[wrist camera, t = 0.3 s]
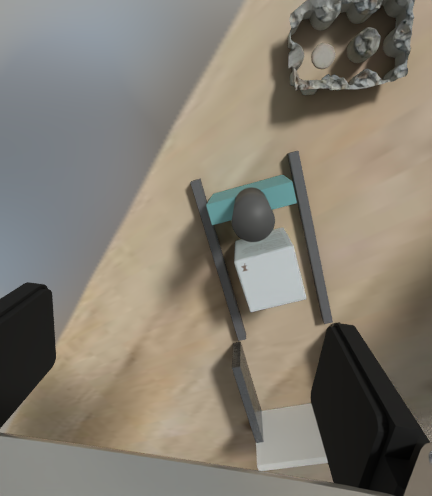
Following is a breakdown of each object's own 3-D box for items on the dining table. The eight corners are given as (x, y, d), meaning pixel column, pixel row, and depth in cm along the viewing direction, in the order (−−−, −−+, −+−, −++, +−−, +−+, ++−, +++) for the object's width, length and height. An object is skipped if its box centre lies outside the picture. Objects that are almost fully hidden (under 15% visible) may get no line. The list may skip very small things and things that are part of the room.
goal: (339, 322, 40) (362, 364, 32) (355, 402, 43) (378, 456, 36) (233, 343, 42) (231, 386, 34) (256, 417, 46) (259, 471, 38)
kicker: (281, 170, 34) (306, 185, 21) (287, 196, 35) (314, 227, 22) (211, 189, 35) (192, 215, 22) (219, 214, 36) (204, 254, 23)
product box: (247, 284, 39) (248, 314, 32) (234, 239, 38) (232, 260, 31) (296, 272, 38) (308, 300, 31) (284, 225, 36) (294, 244, 30)
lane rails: (296, 150, 34) (298, 151, 33) (330, 317, 40) (332, 322, 38) (192, 181, 36) (190, 182, 35) (238, 335, 41) (238, 340, 40)
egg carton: (285, 99, 33) (291, 93, 29) (285, 14, 30) (291, -5, 26) (393, 89, 31) (414, 81, 28) (401, 0, 29) (425, -22, 25)
